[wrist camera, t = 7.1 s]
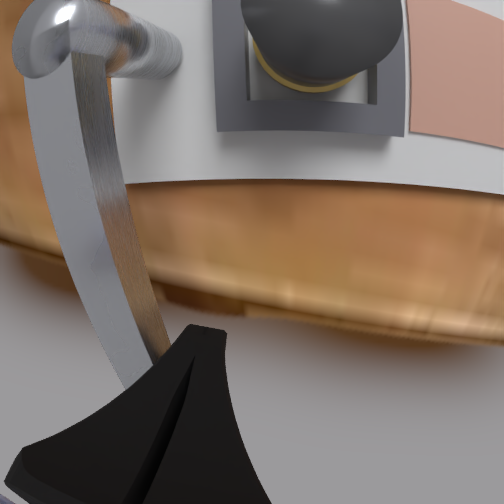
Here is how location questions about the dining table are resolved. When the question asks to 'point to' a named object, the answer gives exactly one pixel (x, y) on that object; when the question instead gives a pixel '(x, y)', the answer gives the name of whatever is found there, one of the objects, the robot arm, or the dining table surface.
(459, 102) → the pad
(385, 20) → the plug
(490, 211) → the dining table surface
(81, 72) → the retention clip
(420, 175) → the dock board
